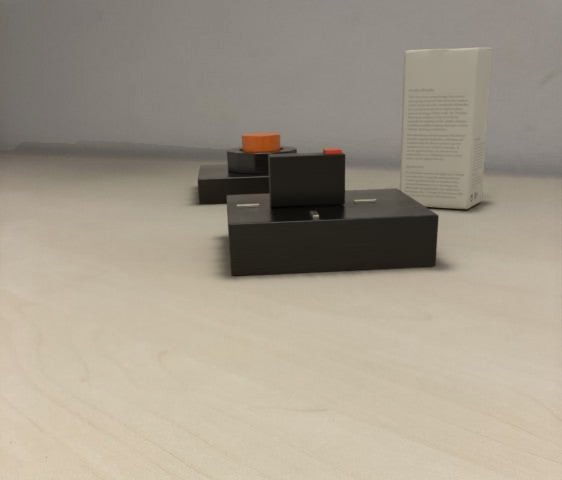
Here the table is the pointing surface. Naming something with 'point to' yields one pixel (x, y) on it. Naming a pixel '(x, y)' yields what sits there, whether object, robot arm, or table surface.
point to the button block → (236, 175)
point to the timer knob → (307, 178)
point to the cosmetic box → (445, 125)
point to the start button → (261, 142)
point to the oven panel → (330, 234)
